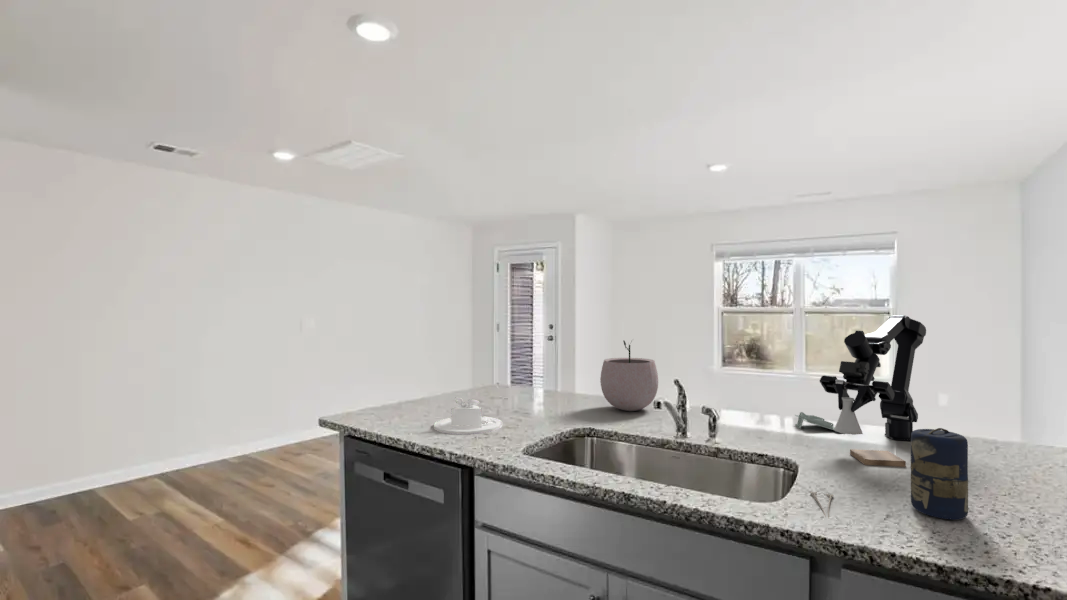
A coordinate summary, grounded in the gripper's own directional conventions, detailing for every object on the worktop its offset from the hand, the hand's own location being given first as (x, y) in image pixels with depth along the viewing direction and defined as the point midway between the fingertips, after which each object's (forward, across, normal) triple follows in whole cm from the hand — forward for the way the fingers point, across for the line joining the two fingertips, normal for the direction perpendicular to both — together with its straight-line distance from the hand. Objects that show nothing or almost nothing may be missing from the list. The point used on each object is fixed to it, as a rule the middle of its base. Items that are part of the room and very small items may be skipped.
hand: (845, 410), depth 150 cm
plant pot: (+14, -84, +5) cm, 85 cm away
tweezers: (+41, +17, -22) cm, 49 cm away
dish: (+62, -96, -44) cm, 122 cm away
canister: (+29, +32, -10) cm, 44 cm away
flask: (+4, 0, +6) cm, 7 cm away
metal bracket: (-9, -23, +29) cm, 38 cm away
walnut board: (+8, +7, +11) cm, 15 cm away
